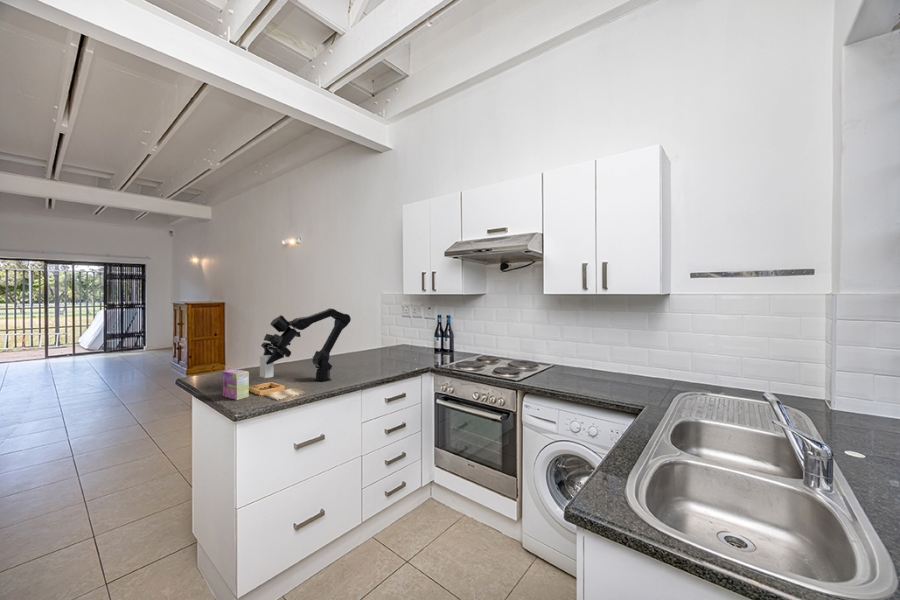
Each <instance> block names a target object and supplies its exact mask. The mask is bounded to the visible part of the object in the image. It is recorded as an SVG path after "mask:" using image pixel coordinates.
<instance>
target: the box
mask: <svg viewBox="0 0 900 600" xmlns="http://www.w3.org/2000/svg"><path fill="white" fill-rule="evenodd" d="M249 380H250V372H249V371H246V370H243V369H242V370H241V369H238V368H237V369H236V368H232V369H227V370H223V371H222V396H225V397H224V398H227V397H228V399H232V400H235V401H238V400H239V401H240V400H242V399H247V398H249V394H250V392H249V386H250V385H249V383H250V382H249Z"/></svg>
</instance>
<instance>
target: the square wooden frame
mask: <svg viewBox="0 0 900 600" xmlns="http://www.w3.org/2000/svg"><path fill="white" fill-rule="evenodd" d="M269 386H271V387H269ZM264 387H266V388H267V389H265V388H264ZM273 387H274V388H273ZM285 387H286V386H285V385H283V384H280V383H275V382H273V381H271V382H265V383H260V384H259V383H258V384H255V385H249V391H250V392H249V393H252V392H253V393H252V394H254V393H255V395H257V394H258V395H257V396H260V395H261V396H265V395H264V394H268V393H273V392H277V391H282V390H286V388H285ZM260 388H262V389H260Z"/></svg>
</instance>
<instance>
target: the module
mask: <svg viewBox="0 0 900 600" xmlns="http://www.w3.org/2000/svg"><path fill="white" fill-rule="evenodd" d="M270 357H271V355H263V354H262V355H260V356H259V378H264V379H269V378H273V377H274V366H275V365H274V362H273V363H271V364H269V365H267V364H266V363H267V361H268V360H269V358H270Z"/></svg>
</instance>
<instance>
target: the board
mask: <svg viewBox="0 0 900 600" xmlns="http://www.w3.org/2000/svg"><path fill="white" fill-rule="evenodd" d="M303 393H306V392H305V391H304V390H300V389H297V388H293V387H291V388H288V389H286V388H285V390H282V391H277V392H273V393H268V394H265V395H264V397H266V396H267V397H266V398H269V397H270V399H271V398H272V399H271V400H275V401H279V399H280V400H284V399H288V398H292V397H295V395H297V396H300V395H299V394H301V395H303ZM283 398H284V399H283Z"/></svg>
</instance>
